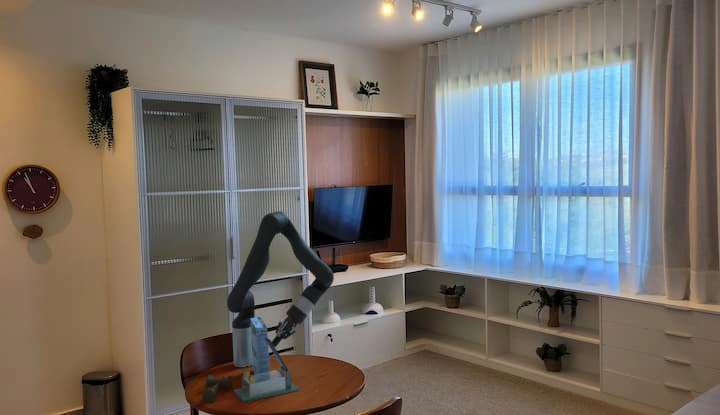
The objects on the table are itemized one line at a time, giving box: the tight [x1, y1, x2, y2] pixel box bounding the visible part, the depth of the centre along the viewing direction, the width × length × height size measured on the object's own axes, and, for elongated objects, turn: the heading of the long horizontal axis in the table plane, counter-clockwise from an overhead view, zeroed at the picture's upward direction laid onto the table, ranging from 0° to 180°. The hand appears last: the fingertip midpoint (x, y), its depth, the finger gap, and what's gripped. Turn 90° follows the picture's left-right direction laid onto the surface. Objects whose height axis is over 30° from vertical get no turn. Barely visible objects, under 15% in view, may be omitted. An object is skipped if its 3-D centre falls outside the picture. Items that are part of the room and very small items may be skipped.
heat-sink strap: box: [265, 337, 289, 372], centre depth 221 cm, size 4×16×1 cm
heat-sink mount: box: [233, 365, 300, 404], centre depth 219 cm, size 13×22×8 cm, turn 119°
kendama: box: [201, 374, 233, 404], centre depth 219 cm, size 6×10×20 cm
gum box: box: [250, 316, 271, 374], centre depth 236 cm, size 20×5×23 cm, turn 17°
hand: (272, 345), depth 220 cm, fingers closed
